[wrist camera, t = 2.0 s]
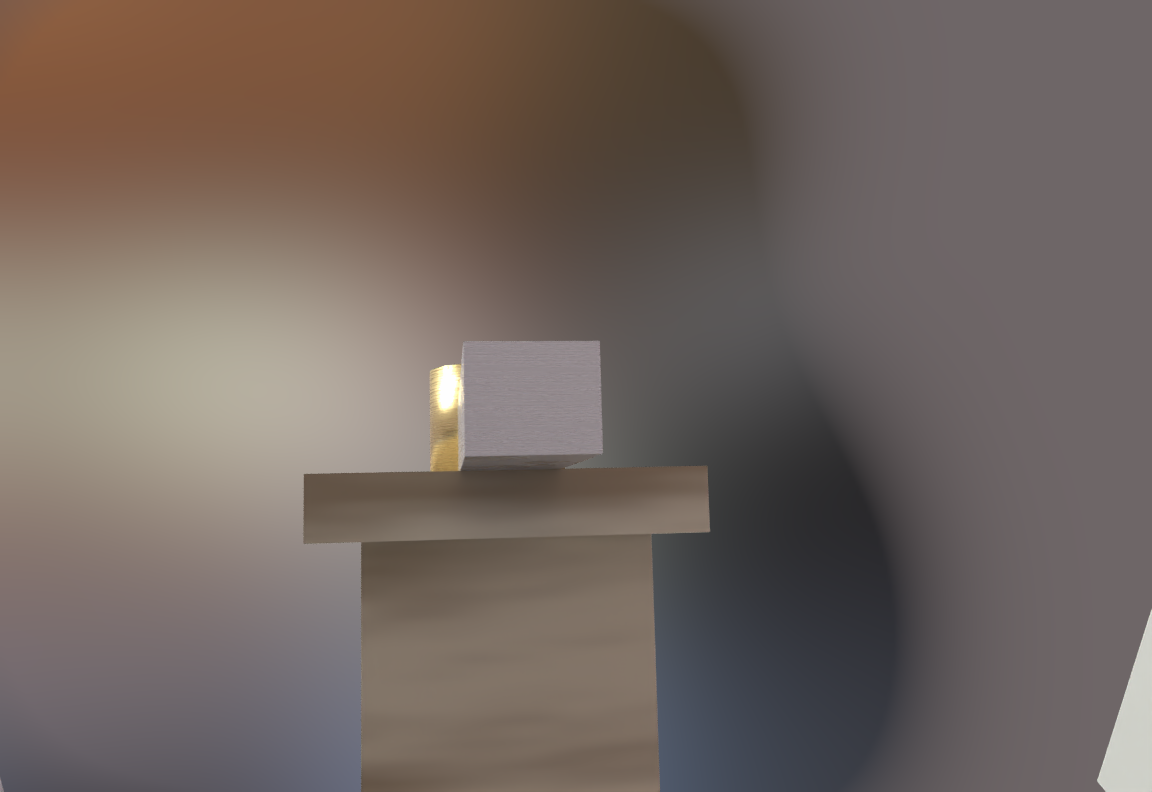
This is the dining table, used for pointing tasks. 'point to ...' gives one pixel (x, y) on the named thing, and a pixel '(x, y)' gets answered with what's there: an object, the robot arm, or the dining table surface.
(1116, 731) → the robot arm
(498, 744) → the stand
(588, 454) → the strut
